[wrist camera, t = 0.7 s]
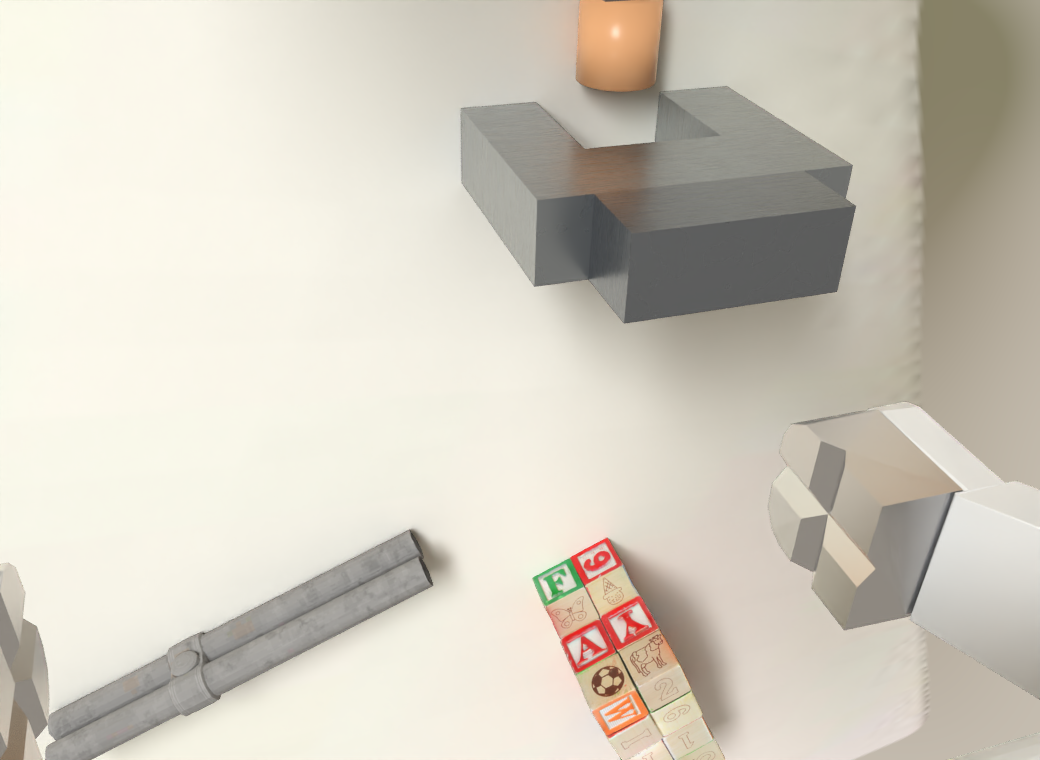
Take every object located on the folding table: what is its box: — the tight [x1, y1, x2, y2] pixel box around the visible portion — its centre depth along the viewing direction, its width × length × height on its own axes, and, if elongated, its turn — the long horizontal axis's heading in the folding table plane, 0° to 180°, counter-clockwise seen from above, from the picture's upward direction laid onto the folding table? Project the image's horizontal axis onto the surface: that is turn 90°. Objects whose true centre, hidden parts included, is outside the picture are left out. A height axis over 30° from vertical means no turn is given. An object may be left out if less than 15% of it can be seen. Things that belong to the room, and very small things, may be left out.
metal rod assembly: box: [45, 530, 433, 760], centre depth 62 cm, size 26×3×5 cm, turn 111°
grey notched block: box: [461, 86, 856, 323], centre depth 47 cm, size 4×15×16 cm, turn 89°
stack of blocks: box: [533, 538, 725, 760], centre depth 72 cm, size 21×6×12 cm, turn 22°
